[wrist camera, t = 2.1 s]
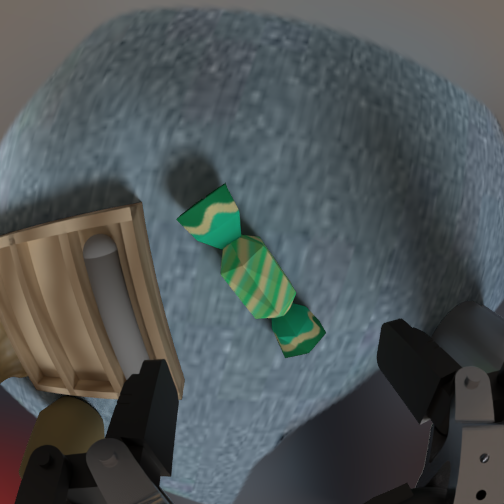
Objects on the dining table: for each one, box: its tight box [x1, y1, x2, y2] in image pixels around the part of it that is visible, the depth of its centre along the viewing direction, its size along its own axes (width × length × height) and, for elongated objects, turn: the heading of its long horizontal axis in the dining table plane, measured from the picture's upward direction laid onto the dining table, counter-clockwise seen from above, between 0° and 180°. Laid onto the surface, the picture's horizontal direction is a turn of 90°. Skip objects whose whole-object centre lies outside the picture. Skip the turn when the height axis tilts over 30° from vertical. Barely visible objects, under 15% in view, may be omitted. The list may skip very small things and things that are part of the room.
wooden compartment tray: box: [0, 202, 185, 400], centre depth 18 cm, size 16×15×2 cm
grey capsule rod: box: [83, 234, 150, 380], centre depth 17 cm, size 2×12×2 cm, turn 6°
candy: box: [176, 183, 326, 358], centre depth 18 cm, size 12×3×4 cm, turn 34°
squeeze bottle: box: [19, 396, 105, 479], centre depth 14 cm, size 8×8×18 cm
